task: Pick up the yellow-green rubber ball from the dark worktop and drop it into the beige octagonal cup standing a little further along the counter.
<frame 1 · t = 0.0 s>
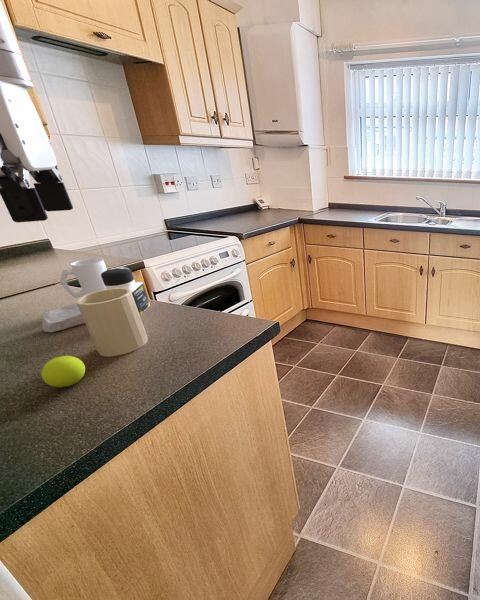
hand: (46, 215, 47), 31 cm above the table, tool pointing down, fingers open, 9 cm apart
soap bar: (71, 324, 84), on the table
medicine bottle: (131, 313, 90), on the table
mug: (96, 303, 95), on the table
beige octagonal cup: (124, 345, 74), on the table
ball: (64, 371, 61), point 3 cm above the table
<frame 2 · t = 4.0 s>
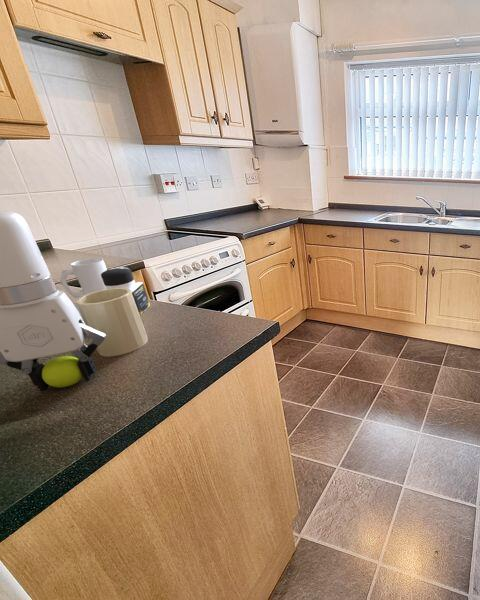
hand: (68, 380, 62), 1 cm above the table, tool pointing down, fingers closed on ball, 5 cm apart
ball: (64, 371, 61), point 3 cm above the table, touching gripper
everything else where it was.
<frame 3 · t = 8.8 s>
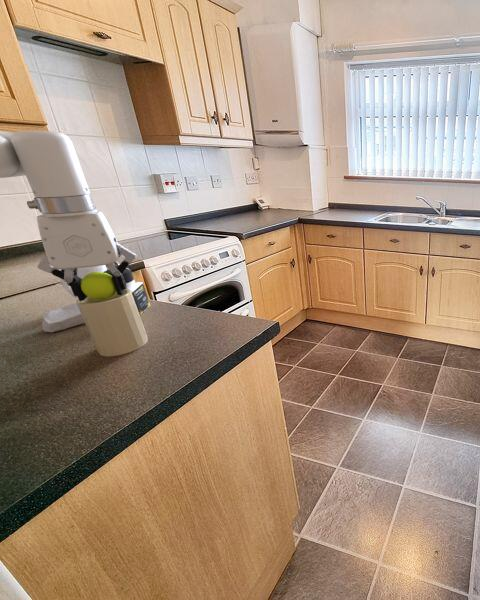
hand: (103, 294, 69), 12 cm above the table, tool pointing down, fingers closed on ball, 5 cm apart
ball: (99, 285, 68), point 14 cm above the table, touching gripper
everything else where it was.
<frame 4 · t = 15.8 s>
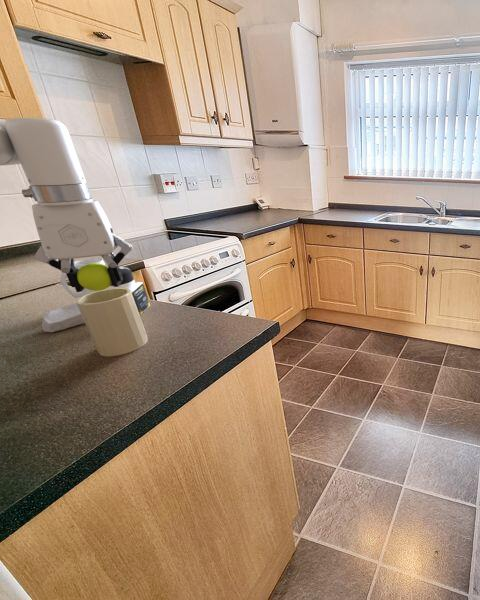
hand: (99, 286, 69), 14 cm above the table, tool pointing down, fingers closed on ball, 5 cm apart
ball: (95, 276, 68), point 16 cm above the table, touching gripper
everything else where it was.
when the fingers open (14 cm above the table, at t = 22.0 s): ball drops 13 cm, resting on beige octagonal cup.
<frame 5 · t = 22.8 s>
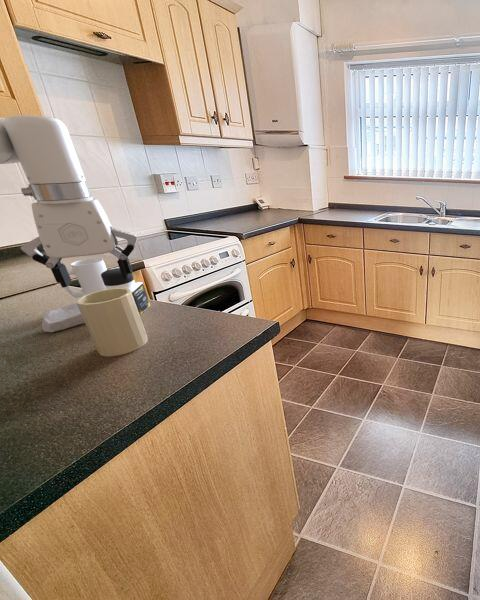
hand: (98, 281, 68), 15 cm above the table, tool pointing down, fingers open, 9 cm apart
ball: (123, 331, 73), point 3 cm above the table, tilted 21°, touching beige octagonal cup
everything else where it was.
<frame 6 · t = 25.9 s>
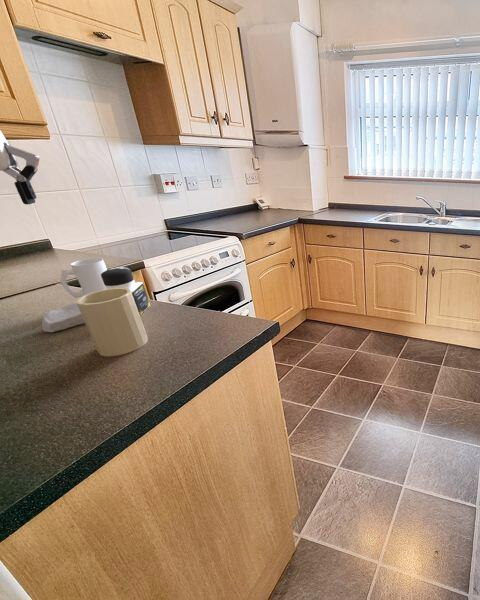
ball: (118, 332, 73), point 3 cm above the table, touching beige octagonal cup
everything else where it was.
at the end: ball inside the target area in the beige octagonal cup (0.1 cm from its centre), point 3.4 cm above the beige octagonal cup's base; the gripper is holding nothing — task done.
